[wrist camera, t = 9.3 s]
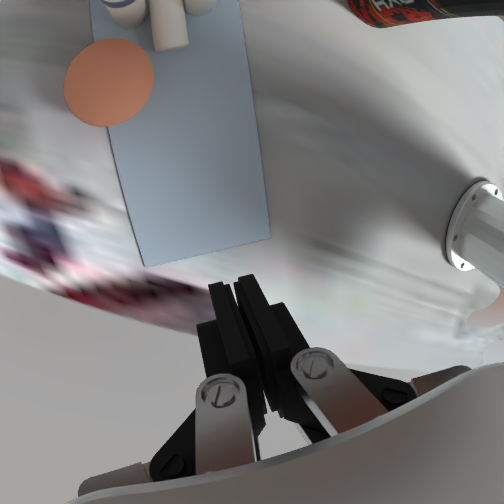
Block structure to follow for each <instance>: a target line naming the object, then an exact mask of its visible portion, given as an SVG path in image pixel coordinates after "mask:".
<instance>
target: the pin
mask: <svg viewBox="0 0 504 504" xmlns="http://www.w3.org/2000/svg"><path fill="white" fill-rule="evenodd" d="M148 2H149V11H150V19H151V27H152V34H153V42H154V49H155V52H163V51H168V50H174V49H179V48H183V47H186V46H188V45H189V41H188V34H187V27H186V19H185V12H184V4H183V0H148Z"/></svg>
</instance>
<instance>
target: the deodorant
mask: <svg viewBox="0 0 504 504" xmlns="http://www.w3.org/2000/svg"><path fill="white" fill-rule="evenodd" d="M347 1H348V3H349V6H350V7H351V9H352V11H353V12H354V13H355V14H356V15H357V17H358V18H359V19H361V20H362V21H363V22H365V23H366V24H368V25H370V26H372V27H376V28H387V27H392V26H398V25H403V24H409V23H416V22H423V21H430V20H438V19H447V18H458V17H472V16H498V15H504V0H347Z"/></svg>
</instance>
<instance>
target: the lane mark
mask: <svg viewBox="0 0 504 504" xmlns="http://www.w3.org/2000/svg"><path fill="white" fill-rule="evenodd" d="M89 1H90V13H91V23H92V32H93V41H94V43H95V42H97V41H100V40H104V39H110V38H119V39H124V40H128V41H130V42H133V43H135V44H136V45H138V46H139V47H140V48H142V49H143V50H144V52H145V53H146V54H147V55H148V57H149V59H150V61H151V63H152V67H153V72H154V83H153V88H152V92H151V94H150V96H149V99H148V100H147V102H146V104H145V105H144V106H143V108H142V109H141V110H140V111H139V112H138V113H137V114H136V115H134V116H133V117H132V118H130V119H129V120H127V121H125V122H123V123H120V124H117V125H114V126H108V130H109V135H110V139H111V144H112V148H113V153H114V157H115V161H116V166H117V170H118V174H119V178H120V182H121V186H122V189H123V193H124V197H125V201H126V204H127V208H128V211H129V215H130V218H131V222H132V225H133V229H134V232H135V235H136V239H137V242H138V245H139V249H140V252H141V255H142V258H143V261H144V264H145V267H146V268H148V267H152V266H156V265H160V264H165V263H169V262H173V261H177V260H181V259H185V258H189V257H193V256H198V255H202V254H206V253H210V252H214V251H219V250H223V249H227V248H231V247H235V246H240V245H244V244H248V243H252V242H256V241H261V240H265V239H269V238H271V235H270V226H269V218H268V210H267V201H266V193H265V185H264V177H263V169H262V161H261V154H260V146H259V138H258V131H257V123H256V116H255V109H254V101H253V94H252V87H251V80H250V73H249V66H248V59H247V52H246V45H245V39H244V32H243V25H242V19H241V12H240V6H239V0H217V2H216V4H215V6H214V8H213V9H212V11H210V12H209V13H208V14H206V15H203V16H193V15H190V14H188V13H187V12H186V11H185V10H184V12H185V19H186V27H187V34H188V41H189V45H188V46H186V47H183V48H179V49H174V50H168V51H163V52H155V49H154V42H153V34H152V27H151V19H150V11H149V2H148V0H145V3H146V8H147V17H146V19H145V21H144V22H143V23H142V24H141V25H140V26H138V27H136V28H134V29H123V28H121V27H119V26H118V25H117V23H116V22H115V20H114V19H113V17H112V15H111V14H110V12H109V11H108V9H107V7H106V6H105V5H104V4H103V3H102V1H101V0H89Z"/></svg>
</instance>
